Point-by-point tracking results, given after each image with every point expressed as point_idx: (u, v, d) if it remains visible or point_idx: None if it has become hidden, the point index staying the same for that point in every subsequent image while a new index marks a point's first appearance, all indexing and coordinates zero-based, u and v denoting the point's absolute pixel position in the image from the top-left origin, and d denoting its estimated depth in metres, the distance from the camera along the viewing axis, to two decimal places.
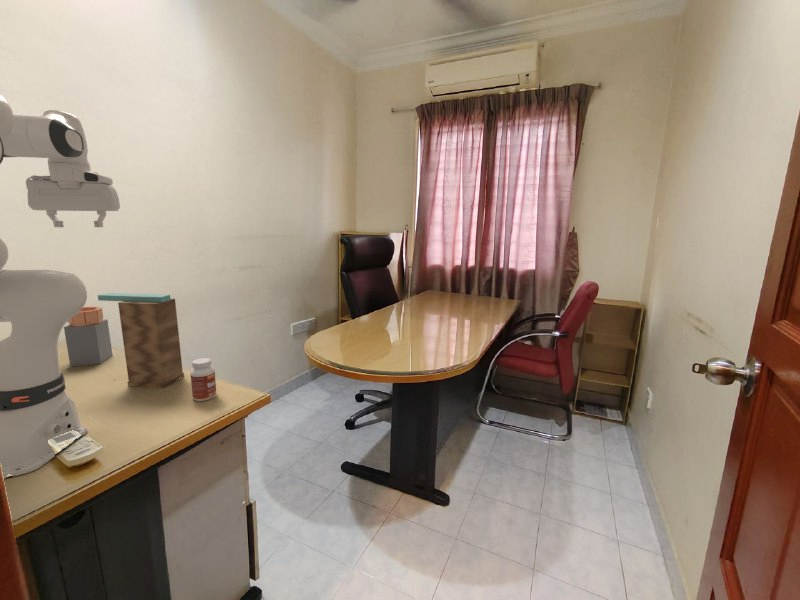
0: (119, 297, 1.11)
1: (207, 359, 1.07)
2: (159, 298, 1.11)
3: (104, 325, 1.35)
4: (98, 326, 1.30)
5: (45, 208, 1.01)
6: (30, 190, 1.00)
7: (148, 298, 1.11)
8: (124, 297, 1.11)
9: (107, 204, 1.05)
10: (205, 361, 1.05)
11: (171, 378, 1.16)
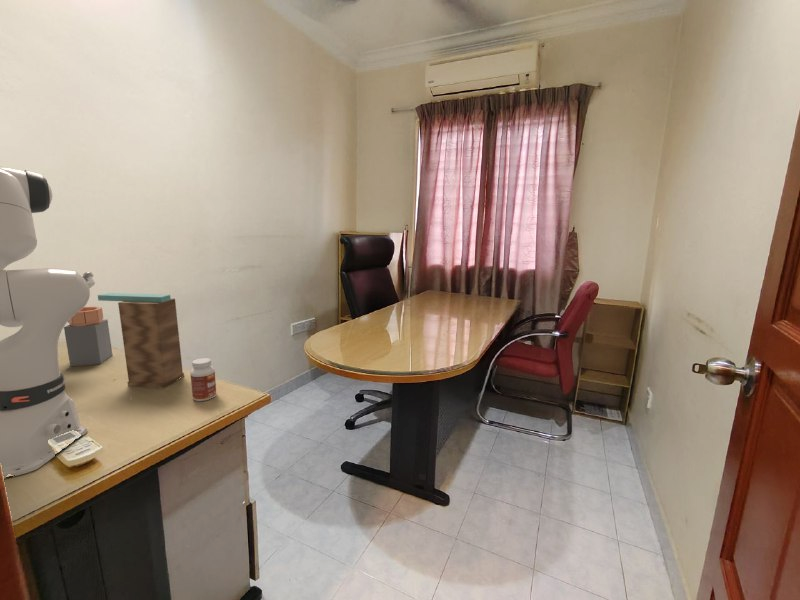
0: (119, 297, 1.11)
1: (207, 359, 1.07)
2: (159, 298, 1.11)
3: (104, 325, 1.35)
4: (98, 326, 1.30)
5: None
6: None
7: (148, 298, 1.11)
8: (124, 297, 1.11)
9: None
10: (205, 361, 1.05)
11: (171, 378, 1.16)
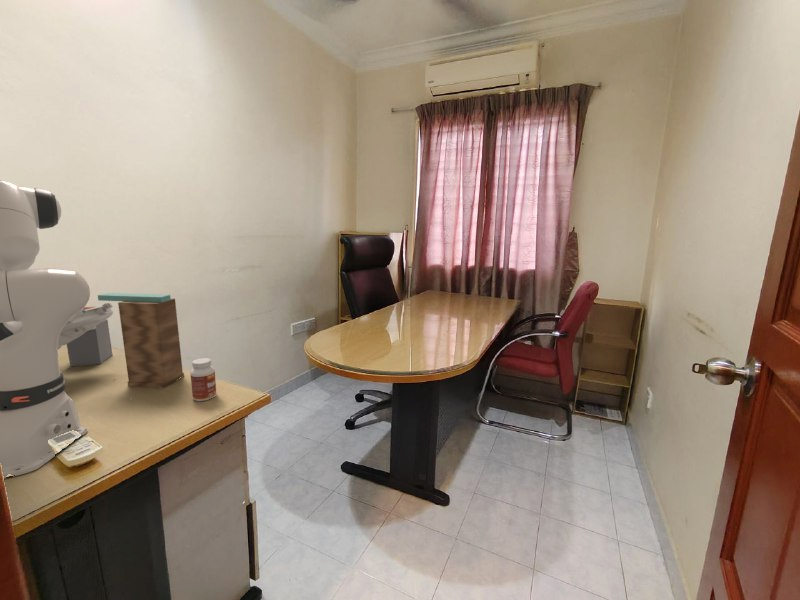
0: (119, 297, 1.11)
1: (207, 359, 1.07)
2: (159, 298, 1.11)
3: (104, 325, 1.35)
4: (98, 326, 1.30)
5: None
6: None
7: (148, 298, 1.11)
8: (124, 297, 1.11)
9: None
10: (205, 361, 1.05)
11: (171, 378, 1.16)
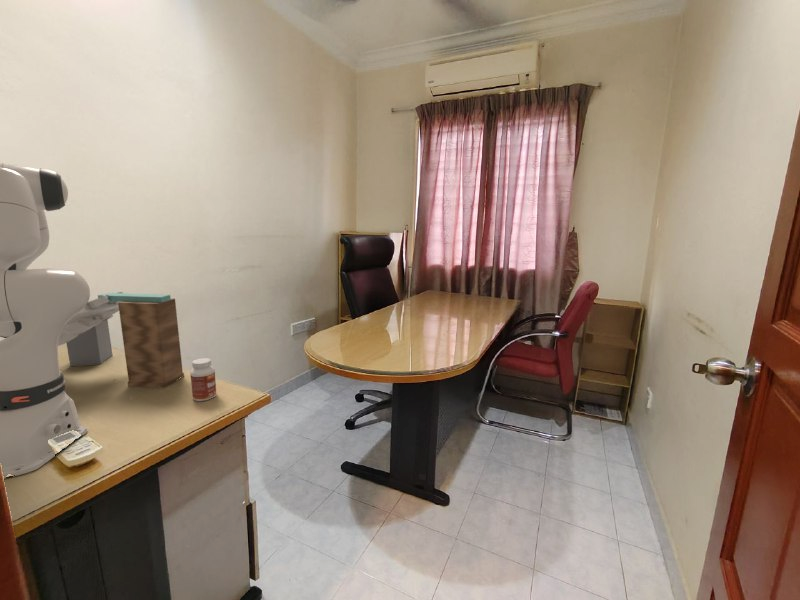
0: (119, 297, 1.11)
1: (207, 359, 1.07)
2: (159, 298, 1.11)
3: (104, 325, 1.35)
4: (98, 326, 1.30)
5: None
6: None
7: (148, 298, 1.11)
8: (124, 297, 1.11)
9: None
10: (205, 361, 1.05)
11: (171, 378, 1.16)
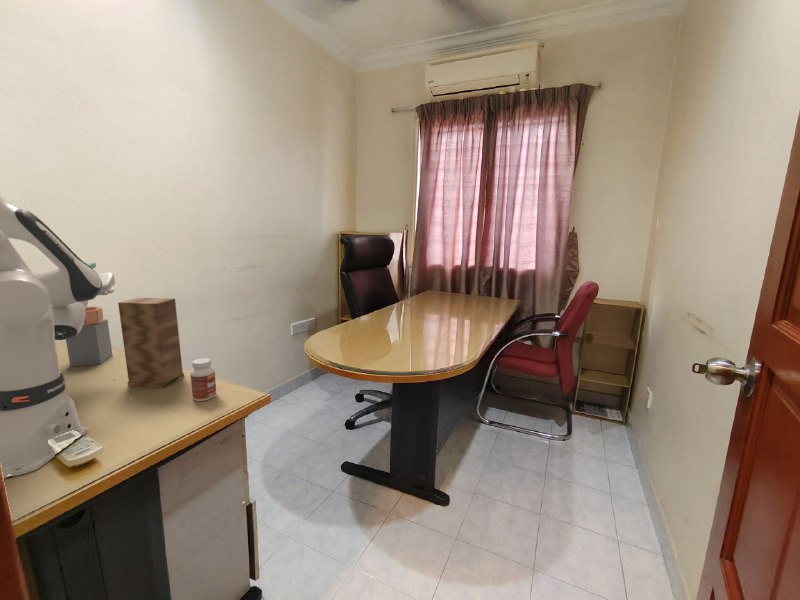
0: None
1: (207, 359, 1.07)
2: (95, 263, 1.34)
3: (104, 325, 1.35)
4: (98, 326, 1.30)
5: (98, 273, 1.18)
6: (107, 281, 1.16)
7: (93, 264, 1.31)
8: None
9: None
10: (205, 361, 1.05)
11: (171, 378, 1.16)
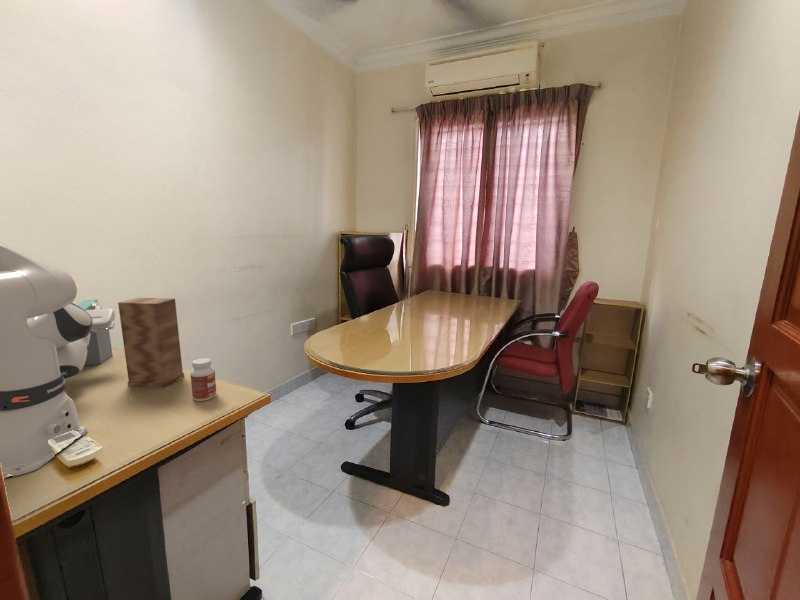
0: (89, 307, 1.29)
1: (207, 359, 1.07)
2: (96, 300, 1.40)
3: None
4: None
5: (99, 309, 1.23)
6: (107, 318, 1.21)
7: (95, 302, 1.37)
8: (90, 306, 1.30)
9: (40, 316, 1.16)
10: (205, 361, 1.05)
11: (171, 378, 1.16)
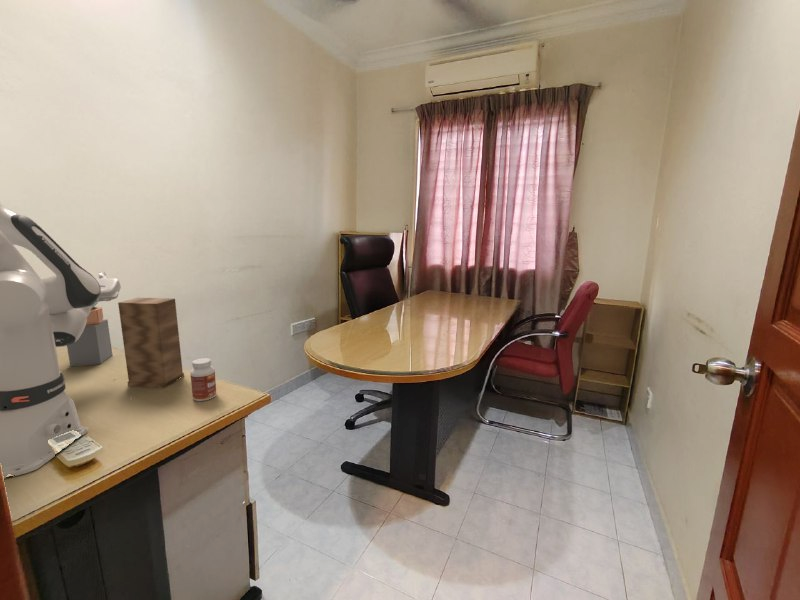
0: None
1: (207, 359, 1.07)
2: None
3: (104, 325, 1.35)
4: (98, 326, 1.30)
5: (104, 278, 1.17)
6: (111, 287, 1.15)
7: (95, 302, 1.37)
8: None
9: None
10: (205, 361, 1.05)
11: (171, 378, 1.16)
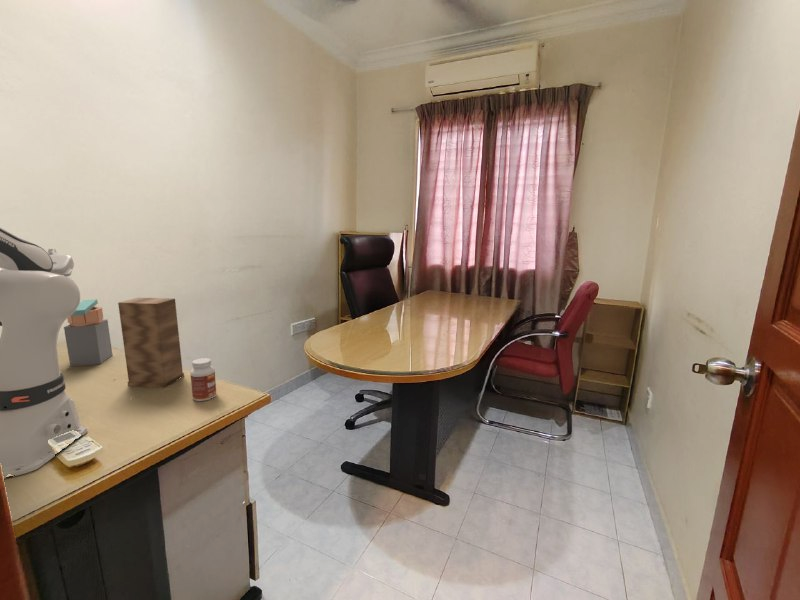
0: (89, 307, 1.29)
1: (207, 359, 1.07)
2: (96, 300, 1.40)
3: (104, 325, 1.35)
4: (98, 326, 1.30)
5: (54, 255, 1.09)
6: (63, 264, 1.07)
7: (95, 302, 1.37)
8: (90, 306, 1.30)
9: None
10: (205, 361, 1.05)
11: (171, 378, 1.16)
